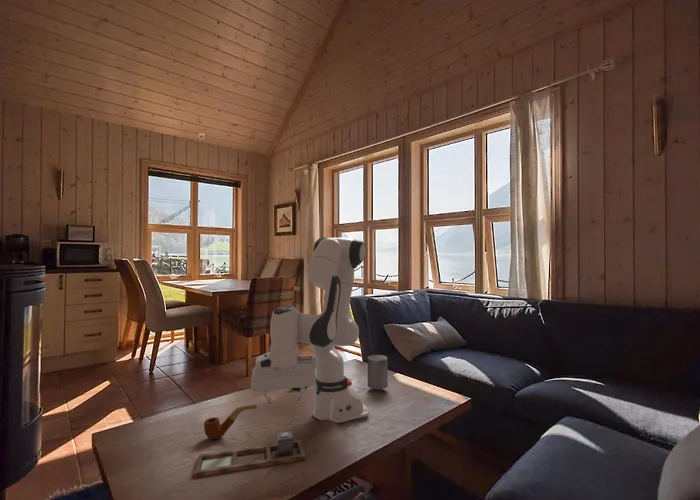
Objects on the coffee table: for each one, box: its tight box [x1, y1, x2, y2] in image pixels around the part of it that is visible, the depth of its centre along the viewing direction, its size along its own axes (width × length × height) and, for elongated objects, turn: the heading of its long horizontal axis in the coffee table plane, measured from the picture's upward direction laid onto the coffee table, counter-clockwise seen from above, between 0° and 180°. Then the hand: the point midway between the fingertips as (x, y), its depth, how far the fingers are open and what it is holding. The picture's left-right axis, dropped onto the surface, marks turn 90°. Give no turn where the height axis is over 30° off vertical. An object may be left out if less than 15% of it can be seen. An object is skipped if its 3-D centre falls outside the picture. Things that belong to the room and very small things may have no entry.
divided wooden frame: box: [193, 439, 306, 478], centre depth 112 cm, size 32×10×1 cm, turn 106°
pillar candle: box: [367, 354, 389, 390], centre depth 175 cm, size 10×10×15 cm
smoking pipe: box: [203, 403, 258, 440], centre depth 128 cm, size 7×18×6 cm
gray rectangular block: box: [276, 430, 294, 458], centre depth 115 cm, size 4×4×6 cm
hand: (284, 401), depth 115 cm, fingers open, 8 cm apart
